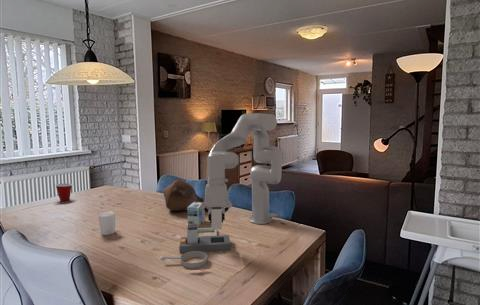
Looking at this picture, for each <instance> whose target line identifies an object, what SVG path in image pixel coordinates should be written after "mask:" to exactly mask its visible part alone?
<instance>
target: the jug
mask: <svg viewBox="0 0 480 305" xmlns="http://www.w3.org/2000/svg"><path fill="white" fill-rule="evenodd" d="M162 193H163V197H164V202H165V207H166V208H167V209H169V210H171V211H174V212H175V211H176V212H181V211H183V212H184V211H187V207H188V206H190V205H191V204H192V203H193V202H200V203H203V201H204V200H205V198H203V197H200V196H198V194H197V193H196V189H195V187H193V186H192V185H191V184H190V183H188V182H186V181H184V180H181V179H176V180H174V181H173V182H172V183H171V184H169V185H168V186H166V187H165V188H163V191H162ZM205 207H206V206H205ZM207 208H208V207H207Z"/></svg>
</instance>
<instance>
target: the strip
mask: <svg viewBox="0 0 480 305" xmlns="http://www.w3.org/2000/svg"><path fill="white" fill-rule="evenodd" d="M178 248H179V249H178V250H179V254H185V253H187V252H191V251H201V252H204V253H207V252H208V253H209V252H210V253H211V252H227V251H231V249H232V248H231V239H230V235H229V234H225V235H223V234H222V235H218V234H217V236H209V235H198V244H187V236H182V237H180V242H179V247H178Z"/></svg>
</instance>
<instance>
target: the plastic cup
mask: <svg viewBox="0 0 480 305" xmlns="http://www.w3.org/2000/svg"><path fill="white" fill-rule="evenodd" d="M73 185H74V184H73V183H66V182H65V183H57V184H55V187H56V191H57V194H58V198H59V201H60V202H61V203H62V202H63V203H65V202H69V201H70V199H71V193H72V192H71V191H72V187H73Z"/></svg>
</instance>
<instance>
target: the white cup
mask: <svg viewBox="0 0 480 305" xmlns="http://www.w3.org/2000/svg"><path fill="white" fill-rule="evenodd" d="M98 222H99V228H100V229H99V230H100V234H101V235H102V236H109V235H113V234H115V233H116V212H114V211H104V212H101V213H99V214H98Z"/></svg>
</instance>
